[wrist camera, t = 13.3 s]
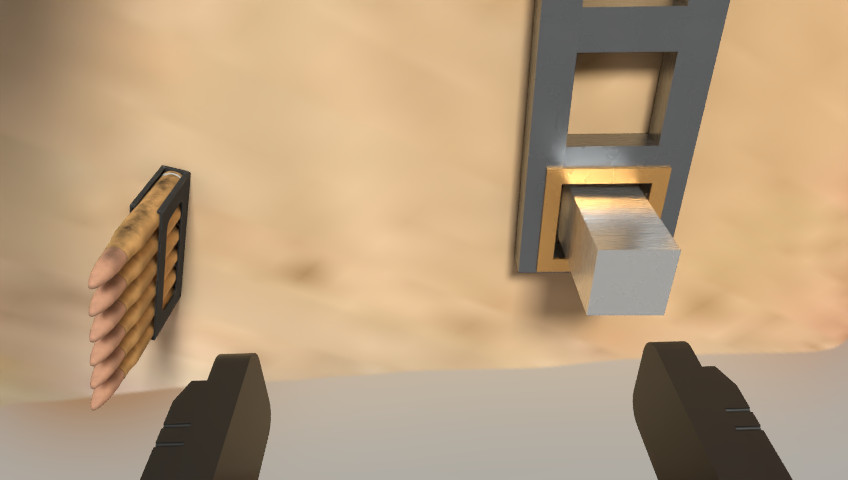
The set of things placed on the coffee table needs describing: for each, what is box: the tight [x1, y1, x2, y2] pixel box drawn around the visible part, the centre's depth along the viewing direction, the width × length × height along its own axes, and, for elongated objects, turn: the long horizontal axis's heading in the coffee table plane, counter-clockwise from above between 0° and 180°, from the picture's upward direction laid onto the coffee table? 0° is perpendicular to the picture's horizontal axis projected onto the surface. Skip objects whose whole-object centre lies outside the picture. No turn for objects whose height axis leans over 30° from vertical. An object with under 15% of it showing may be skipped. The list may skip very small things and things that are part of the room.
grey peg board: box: [515, 0, 730, 273], centre depth 36 cm, size 24×10×2 cm, turn 1°
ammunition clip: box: [89, 165, 191, 410], centre depth 37 cm, size 11×2×12 cm, turn 165°
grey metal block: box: [557, 183, 681, 315], centre depth 37 cm, size 4×4×9 cm
